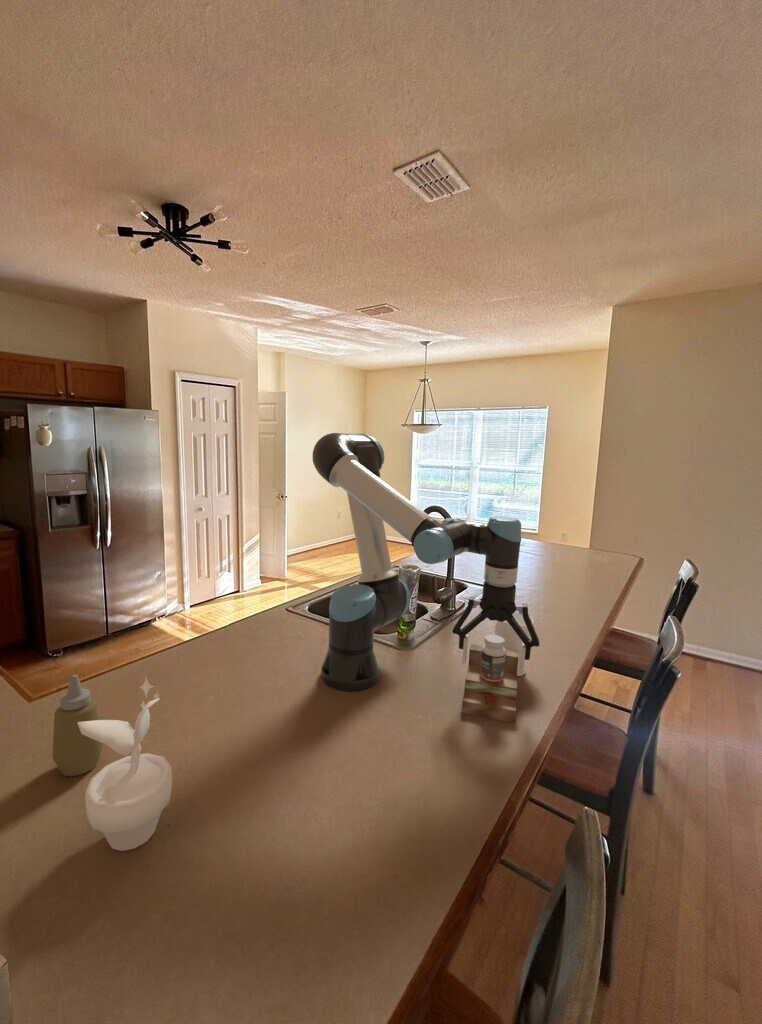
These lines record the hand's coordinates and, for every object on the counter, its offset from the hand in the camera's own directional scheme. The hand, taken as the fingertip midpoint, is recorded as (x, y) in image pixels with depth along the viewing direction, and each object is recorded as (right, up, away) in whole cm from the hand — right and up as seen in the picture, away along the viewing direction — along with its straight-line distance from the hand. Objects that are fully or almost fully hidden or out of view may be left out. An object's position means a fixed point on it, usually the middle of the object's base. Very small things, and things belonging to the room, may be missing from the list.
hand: (492, 666), depth 112 cm
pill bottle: (0, -3, 0) cm, 3 cm away
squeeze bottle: (-83, -10, -27) cm, 88 cm away
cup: (+9, -7, +17) cm, 20 cm away
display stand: (0, -9, +1) cm, 9 cm away
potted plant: (-66, -13, -40) cm, 79 cm away
